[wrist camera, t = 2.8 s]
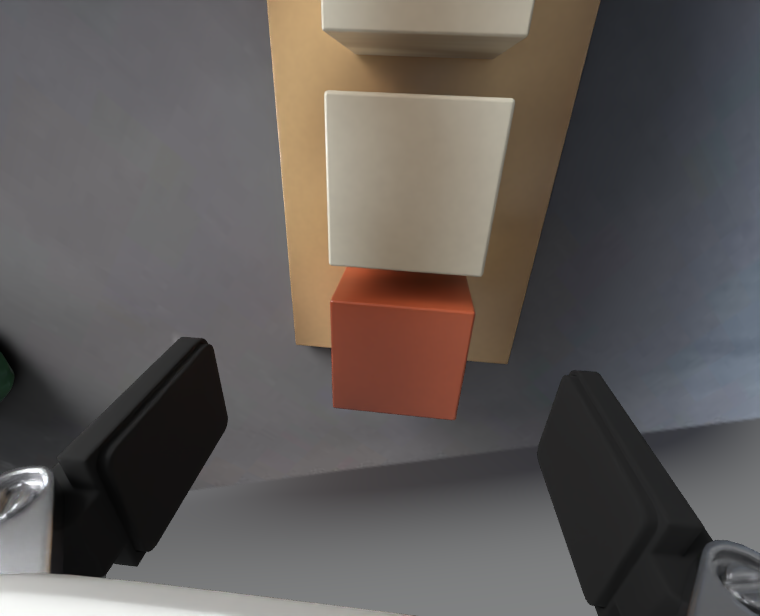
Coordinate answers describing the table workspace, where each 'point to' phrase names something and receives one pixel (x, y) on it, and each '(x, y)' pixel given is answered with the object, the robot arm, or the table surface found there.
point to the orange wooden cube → (400, 341)
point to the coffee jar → (5, 377)
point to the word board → (422, 144)
